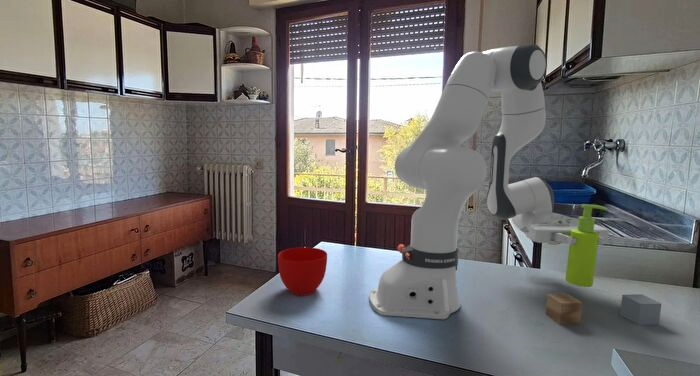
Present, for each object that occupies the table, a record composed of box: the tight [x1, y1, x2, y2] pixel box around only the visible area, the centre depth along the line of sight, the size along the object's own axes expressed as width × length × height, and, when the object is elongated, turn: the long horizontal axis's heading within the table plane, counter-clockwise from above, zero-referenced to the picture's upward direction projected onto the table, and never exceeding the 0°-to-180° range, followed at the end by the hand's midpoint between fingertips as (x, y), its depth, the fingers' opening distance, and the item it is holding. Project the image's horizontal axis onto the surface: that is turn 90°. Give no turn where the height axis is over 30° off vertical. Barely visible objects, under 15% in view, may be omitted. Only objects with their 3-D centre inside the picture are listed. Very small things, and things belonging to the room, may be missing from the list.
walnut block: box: [545, 293, 583, 325], centre depth 83 cm, size 5×5×5 cm
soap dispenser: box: [565, 203, 609, 288], centre depth 91 cm, size 6×7×20 cm
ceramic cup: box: [277, 246, 328, 296], centre depth 98 cm, size 13×17×10 cm
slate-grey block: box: [619, 293, 663, 326], centre depth 84 cm, size 5×5×5 cm
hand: (587, 241), depth 90 cm, fingers closed on soap dispenser, 6 cm apart
